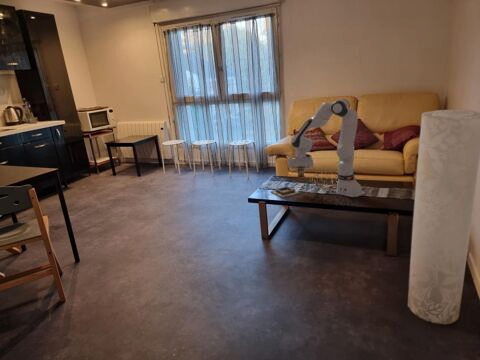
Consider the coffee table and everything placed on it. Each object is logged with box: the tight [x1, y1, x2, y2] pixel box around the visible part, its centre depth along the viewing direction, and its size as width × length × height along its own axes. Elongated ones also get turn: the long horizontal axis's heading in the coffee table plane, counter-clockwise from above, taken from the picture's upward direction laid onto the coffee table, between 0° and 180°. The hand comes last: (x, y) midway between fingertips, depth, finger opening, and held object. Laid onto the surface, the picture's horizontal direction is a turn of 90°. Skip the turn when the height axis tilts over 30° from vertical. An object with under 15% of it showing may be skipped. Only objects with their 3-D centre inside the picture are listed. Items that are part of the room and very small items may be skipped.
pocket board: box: [270, 185, 301, 199], centre depth 273 cm, size 17×17×3 cm
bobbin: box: [297, 167, 306, 179], centre depth 269 cm, size 6×6×8 cm
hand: (300, 172), depth 269 cm, fingers closed on bobbin, 5 cm apart
